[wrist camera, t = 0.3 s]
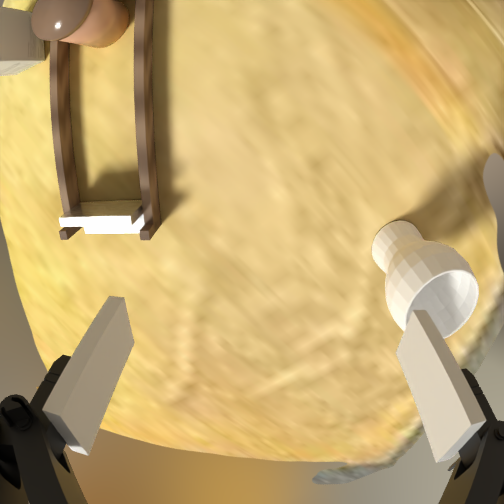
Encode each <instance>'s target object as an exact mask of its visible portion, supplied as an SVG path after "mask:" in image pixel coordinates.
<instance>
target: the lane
mask: <svg viewBox="0 0 504 504" xmlns="http://www.w3.org/2000/svg"><path fill="white" fill-rule="evenodd" d="M153 6H154V0H136V5H135V27H134V101H135V124H136V141H137V155H138V167H139V179H140V189H141V198H142V207H143V215H144V223H145V225H144V226H143V227H142V228H141V229H140V231H139V232H140V239H141V240H150V239H151V238H152V236H153V235H154V234H155V232H156V231H157V230H158V228H159V227H160V226H161V216H160V206H159V196H158V185H157V172H156V158H155V142H154V123H153V92H152V35H153ZM50 104H51V121H52V133H53V144H54V153H55V161H56V169H57V176H58V183H59V189H60V195H61V201H62V206H63V212H64V214H65V213H66V212H68V211H69V210H71V209H72V208H73V207H75V206H76V205H78V204H79V203H80V197H79V190H78V184H77V176H76V169H75V161H74V152H73V142H72V130H71V116H70V96H69V42H64V41H50ZM82 227H83V226H71V227H64V228H63V229H61V230H60V231H59V234H60V238H61V240H68V239H69V238H70V237H71V236H72V235H74V234H75V233H76V232H77V231H78V230H79V229H81V228H82Z"/></svg>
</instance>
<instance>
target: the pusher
mask: <svg viewBox="0 0 504 504" xmlns="http://www.w3.org/2000/svg"><path fill="white" fill-rule="evenodd" d="M59 221H60V226H61V227H71V226H84V229H85V233H140V232H139V231H140V229H141V228H142V227H143V226H144V225H145V223H144V215H143V207H142V200H118V201H95V202H81V203H79V204H78V205H76V206H75V207H73V208H72V209H71V210H69V211H68V212H66V213H65V214H64V215H62V216H61V217H59Z"/></svg>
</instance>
